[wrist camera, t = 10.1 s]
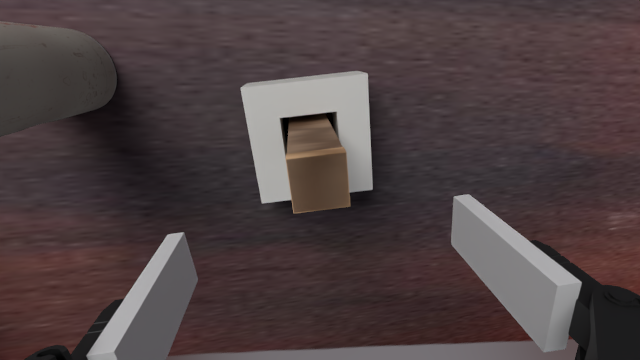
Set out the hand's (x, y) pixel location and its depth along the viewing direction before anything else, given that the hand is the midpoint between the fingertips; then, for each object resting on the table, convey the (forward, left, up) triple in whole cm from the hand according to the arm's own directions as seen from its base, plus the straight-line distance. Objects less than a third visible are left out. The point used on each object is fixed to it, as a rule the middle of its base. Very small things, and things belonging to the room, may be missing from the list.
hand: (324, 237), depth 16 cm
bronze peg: (0, 0, -23) cm, 23 cm away
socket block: (0, 0, -23) cm, 23 cm away
